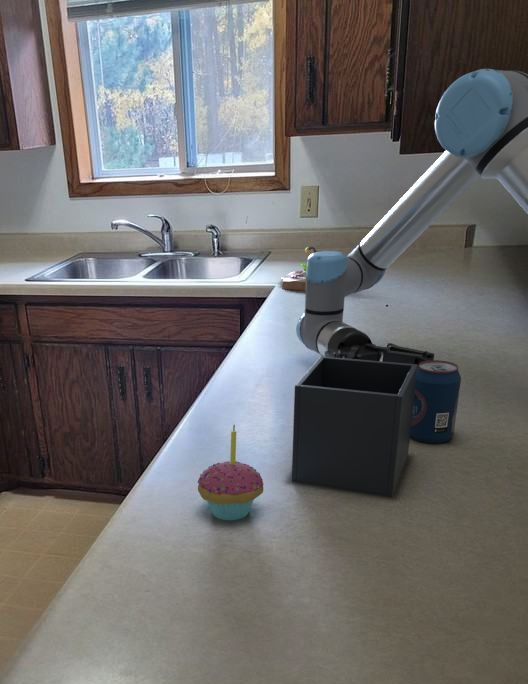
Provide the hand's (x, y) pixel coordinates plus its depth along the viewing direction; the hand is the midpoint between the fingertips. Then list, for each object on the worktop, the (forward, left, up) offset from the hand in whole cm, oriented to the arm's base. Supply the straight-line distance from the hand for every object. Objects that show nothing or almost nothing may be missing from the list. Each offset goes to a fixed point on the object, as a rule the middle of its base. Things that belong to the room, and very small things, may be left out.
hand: (405, 380), depth 121 cm
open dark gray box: (+4, +22, -7) cm, 24 cm away
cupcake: (+16, +40, -7) cm, 44 cm away
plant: (+41, -102, -7) cm, 111 cm away
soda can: (-5, +6, -7) cm, 11 cm away
